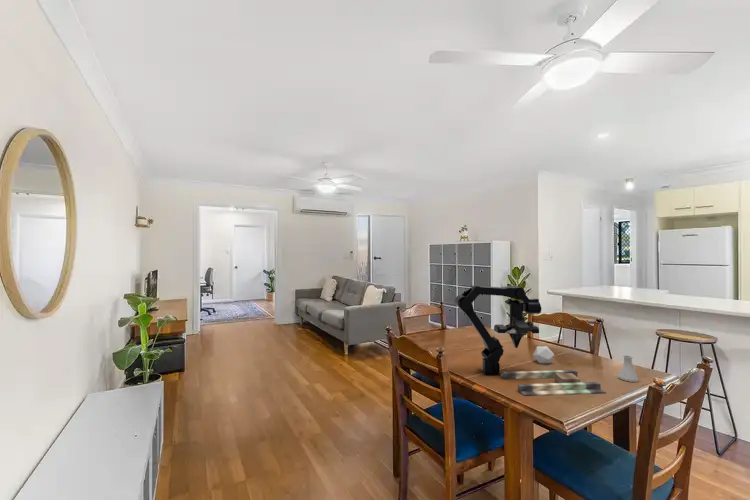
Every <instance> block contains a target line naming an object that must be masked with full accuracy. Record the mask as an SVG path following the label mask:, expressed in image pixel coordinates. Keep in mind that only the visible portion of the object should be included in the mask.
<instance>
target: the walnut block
mask: <svg viewBox="0 0 750 500" xmlns="http://www.w3.org/2000/svg"><path fill="white" fill-rule="evenodd" d="M578 382H581V379H580V378H579V377H576V376H575V375H574V374H572V373H555V378H554V383H578Z"/></svg>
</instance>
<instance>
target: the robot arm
mask: <svg viewBox="0 0 750 500" xmlns="http://www.w3.org/2000/svg"><path fill="white" fill-rule="evenodd" d="M480 295H484V296H498V297H499V296H502V297H506V298H507V300H505V301H504V303H505V304H507V305H509V314H508V317H509V323H508V326H506V325H504V324H494V326H493V331H494V332H496V333H498V334H508V335H509V337H510V339H511V341H512V344H513V347H514V348H515V349H518V347H519V344H520V343H521V339H522V338H524V336H527V334H528V333H529V332H531V334H540V328H539V327H538V326H536V325H534V323H533V322H532V321H525V317H524V313H525V314H528V315H529V314H530V315H533V314H535V315H536V314H537V315H539V314H541V312H542V305H541V303H540V299H539V298H529V297H528V295H526V291H525V289H524V287H521V286H516V285H508V286H507V285H506V286H503V287H502V286H501V287H500V286H485V285H484V286H483V285H477V284H474V285H472V286H471V287H470V288H469V289H467V290H466V291H463V293H462V294H458V295H457V296H456V297H455V299H454V304H455V305H456V307H457V308H458V309H459V310H460V311H461V312H462V313H463V314H464V315H465V316H466V317H467V319H468V320H469V321H470V323H471V325H472V326H473V328H474V329H475V330H476V332H477V333H478V335H479V336H480V338H481V339H482V342H483V345H484V349H483V350H482V351H481V352H480V354H481V356H482V369H481V372H482V373H483V374H484V375H485V376H500V374H501V373H500V372H501V371H500V366H501V364H500V361H501V357H502V356H503V355H504V345H502V344H501V342H500V340H499V339H498V338H496V337H495V336H491V335H490V333H489V332H488V329H487V328H486V326H485V325H484V324H483V322H482V321H481V320H480V317H478V315H477V314H476V312H475V310H474V306H473V304H472V303H473V302H474V301H475V300H477V297H479V296H480Z"/></svg>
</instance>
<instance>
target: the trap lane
mask: <svg viewBox="0 0 750 500" xmlns="http://www.w3.org/2000/svg"><path fill="white" fill-rule="evenodd" d="M555 373H572V374H574V375H575V376H576V377H578V371H577V370H576V369H565V370H564V369H563V370H561V369H560V370H559V369H557V370H522V371H520V370H519V371H502V373H500V375H499V376H501V378H502V379H504V380H524V379H525V380H527V379H555ZM578 378H579V377H578ZM601 387H602V386H601V383H599V382H598V381H589V382H587V381H586V382H582V381H580V382H578V383H556V382H553V383H550V382H548V383H547V382H546V383H523V384H522V383H519V384H517V391H518V392H519V393H520V394H521V395H522V396H525V397H527V396H528V397H531V396H532V397H535V396H561V395H565V396H566V395H591V394H593V395H594V394H596V395H597V394H606V393H607V391H605V390H603V389H602V388H601Z"/></svg>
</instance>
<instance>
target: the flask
mask: <svg viewBox="0 0 750 500" xmlns="http://www.w3.org/2000/svg"><path fill="white" fill-rule="evenodd" d="M622 357H623V364H622V367H621V369H620V371H619V373H618V376H617V379H620V380H622V381H626V382H630V383H634V382H635V383H638V382H639V378H638V375H637V373H636V370H635V368H634V365H633V358H634V357H633V356H632V355H627V354H626V355H623V356H622Z"/></svg>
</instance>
